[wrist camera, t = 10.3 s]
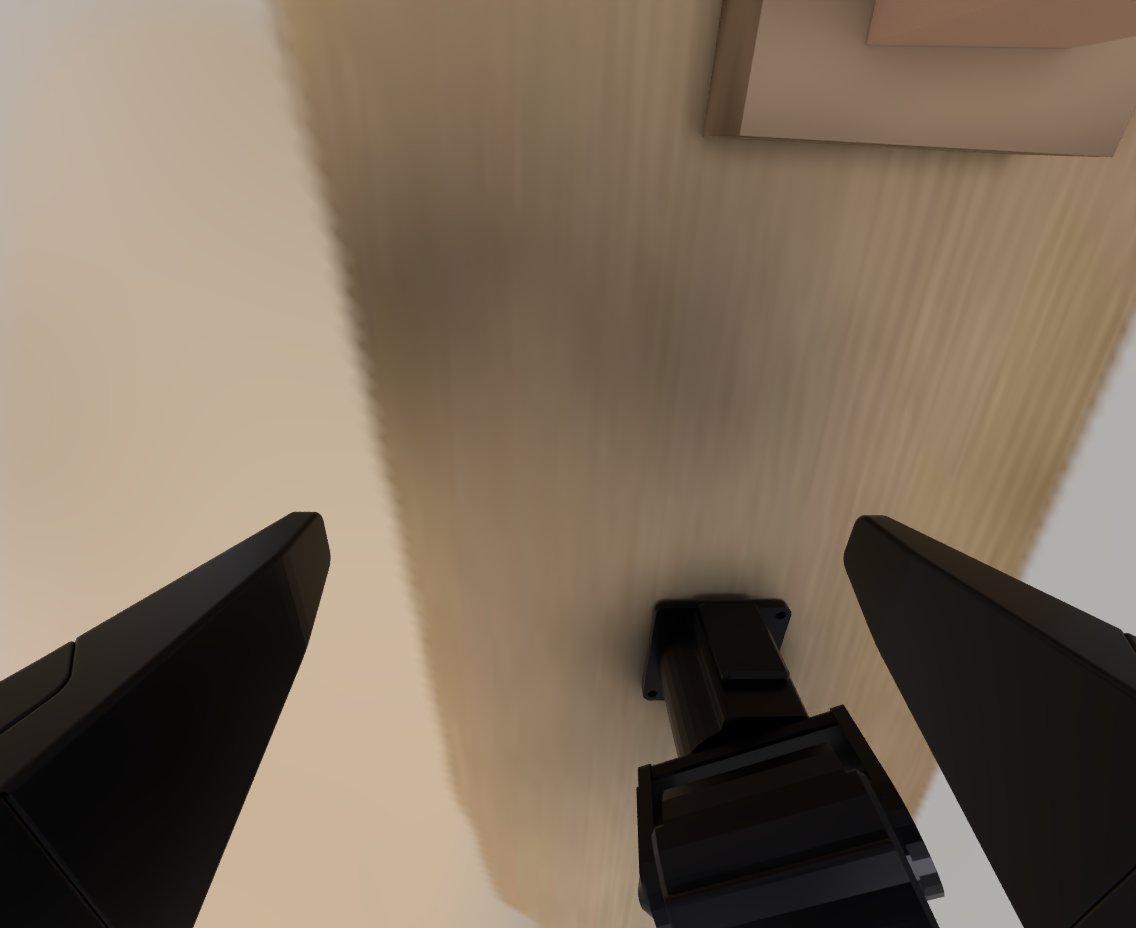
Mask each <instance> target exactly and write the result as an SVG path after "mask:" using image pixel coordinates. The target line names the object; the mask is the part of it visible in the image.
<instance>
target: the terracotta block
mask: <svg viewBox="0 0 1136 928" xmlns="http://www.w3.org/2000/svg"><path fill="white" fill-rule="evenodd" d="M1134 36H1136V0H876V1H875V6H874V11H873V15H872V20H871V24H870V29H869V34H868V38H867V43H866V45H907V46H966V47H1024V48H1075V47H1080V46H1085V45H1091V44H1096V43H1102V42H1107V41H1112V40H1118V39H1123V38H1129V37H1134Z"/></svg>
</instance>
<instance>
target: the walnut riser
mask: <svg viewBox="0 0 1136 928" xmlns="http://www.w3.org/2000/svg"><path fill="white" fill-rule="evenodd" d="M875 1H876V0H723V3H722V10H721V17H720V23H719V30H718V37H717V44H716V51H715V58H714V65H713V72H712V79H711V85H710V92H709V99H708V106H707V113H706V120H705V127H704V134H703V136H704V137H721V138H739V139H756V140H773V141H791V142H808V143H825V144H843V145H860V146H877V147H895V148H912V149H929V150H947V151H964V152H981V153H998V154H1019V155H1055V156H1090V157H1113V155H1114V153H1115V151H1116V149H1117V147H1118V145H1119V143H1120V140H1121V138H1122V136H1123V134H1124V132H1125V130H1126V127H1127V125H1128V123H1129V121H1130V119H1131V117H1132V115H1133V112H1134V110H1135V108H1136V36H1134V37H1129V38H1123V39H1118V40H1112V41H1107V42H1102V43H1096V44H1091V45H1085V46H1080V47H1075V48H1024V47H966V46H907V45H866V43H867V38H868V34H869V29H870V24H871V20H872V15H873V11H874V6H875Z"/></svg>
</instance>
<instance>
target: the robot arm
mask: <svg viewBox="0 0 1136 928" xmlns="http://www.w3.org/2000/svg"><path fill="white" fill-rule="evenodd" d="M329 566H330V549H329V544H328V540H327V535H326V531H325V526H324V521H323V518H322V516H321V515H320V514H319V513H317V512H292V513H290V514H288V515H287V516H285V517H283V518H282V519H280V520H278V521H276V522H275V523H273V524H271V525H270V526H268V527H266V528H264V529H263V530H261V531H259V532H258V533H256V534H254V535H253V536H251V537H249V538H247V539H246V540H244V541H242V542H240V543H239V544H237V545H235V546H233V547H232V548H230V549H228V550H227V551H225V552H223V553H222V554H220V555H218V556H216V557H215V558H213V559H211V560H209V561H208V562H206V563H204V564H203V565H201V566H199V567H197V568H196V569H194V570H193V571H191V572H189V573H187V574H185V575H184V576H182V577H180V578H179V579H177V580H175V581H173V582H172V583H170V584H168V585H167V586H165V587H163V588H161V589H160V590H158V591H156V592H155V593H153V594H151V595H149V596H148V597H146V598H144V599H143V600H141V601H139V602H137V603H136V604H134V605H132V606H130V607H129V608H127V609H125V610H124V611H122V612H120V613H118V614H117V615H115V616H114V617H111V618H110V619H108V620H106V621H105V622H103V623H101V624H99V625H98V626H96V627H94V628H93V629H91V630H89V631H87V632H86V633H84V634H82V635H81V636H79V637H77V639H76V641H75V642H72V641H71V642H68V643H67V644H65V645H63V646H62V647H60V648H58V649H57V650H55V651H53V652H51V653H50V654H48V655H46V656H44V657H43V658H41V659H40V660H38V661H36V662H34V663H32V664H30V665H29V666H27V667H25V668H23V669H22V670H20V671H18V672H16V673H15V674H13V675H11V676H9V677H7V678H6V679H4V680H2V681H0V928H193V927H194V924H195V922H196V919H197V917H198V914H199V912H200V910H201V907H202V905H203V902H204V899H205V897H206V895H207V892H208V890H209V888H210V885H211V883H212V880H213V878H214V875H215V873H216V870H217V868H218V865H219V863H220V860H221V858H222V855H223V853H224V851H225V848H226V846H227V843H228V841H229V839H230V836H231V834H232V831H233V829H234V826H235V824H236V821H237V819H238V816H239V814H240V812H241V809H242V807H243V804H244V802H245V799H246V797H247V794H248V792H249V789H250V787H251V785H252V782H253V780H254V777H255V775H256V772H257V770H258V768H259V765H260V763H261V760H262V758H263V755H264V753H265V750H266V748H267V746H268V743H269V741H270V738H271V736H272V733H273V731H274V728H275V726H276V724H277V721H278V719H279V716H280V714H281V711H282V709H283V706H284V704H285V701H286V699H287V697H288V694H289V692H290V689H291V687H292V684H293V682H294V679H295V677H296V674H297V672H298V670H299V667H300V665H301V662H302V660H303V657H304V654H305V652H306V649H307V646H308V642H309V639H310V636H311V632H312V629H313V625H314V621H315V618H316V614H317V610H318V607H319V603H320V600H321V596H322V592H323V589H324V585H325V581H326V578H327V574H328V571H329ZM844 566H845V569H846V572H847V574H848V577H849V579H850V582H851V584H852V587H853V589H854V592H855V594H856V597H857V599H858V602H859V605H860V607H861V610H862V612H863V615H864V617H865V620H866V622H867V625H868V627H869V630H870V632H871V634H872V637H873V639H874V641H875V644H876V646H877V648H878V650H879V652H880V654H881V656H882V658H883V660H884V662H885V664H886V666H887V667H888V669H889V671H890V673H891V675H892V677H893V679H894V681H895V683H896V685H897V687H898V688H899V690H900V692H901V694H902V696H903V698H904V700H905V702H906V704H907V706H908V708H909V709H910V711H911V713H912V715H913V717H914V719H915V721H916V723H917V725H918V727H919V729H920V730H921V732H922V734H923V736H924V738H925V740H926V742H927V744H928V746H929V748H930V750H931V751H932V753H933V755H934V757H935V759H936V761H937V763H938V765H939V767H940V769H941V771H942V772H943V774H944V776H945V778H946V780H947V782H948V784H949V786H950V788H951V789H952V792H953V793H954V795H955V797H956V799H957V801H958V803H959V805H960V807H961V809H962V811H963V812H964V814H965V816H966V818H967V820H968V822H969V824H970V826H971V827H972V829H973V832H974V833H975V835H976V837H977V839H978V841H979V843H980V845H981V847H982V849H983V851H984V853H985V854H986V856H987V858H988V860H989V862H990V864H991V866H992V868H993V870H994V871H995V874H996V875H997V877H998V879H999V881H1000V883H1001V885H1002V887H1003V889H1004V891H1005V893H1006V894H1007V896H1008V898H1009V900H1010V902H1011V904H1012V906H1013V908H1014V910H1015V912H1016V914H1017V915H1018V917H1019V919H1020V921H1021V923H1022V925H1023V927H1024V928H1136V636H1133V635H1131V634H1129V633H1123V632H1122V630H1121V629H1119V628H1117V627H1115V626H1113V625H1110V624H1108V623H1106V622H1104V621H1102V620H1100V619H1098V618H1096V617H1094V616H1092V615H1090V614H1088V613H1086V612H1084V611H1082V610H1079V609H1077V608H1075V607H1073V606H1071V605H1069V604H1067V603H1065V602H1063V601H1061V600H1059V599H1057V598H1055V597H1053V596H1051V595H1048V594H1046V593H1044V592H1042V591H1040V590H1038V589H1036V588H1034V587H1032V586H1030V585H1028V584H1026V583H1024V582H1022V581H1020V580H1018V579H1015V578H1013V577H1011V576H1009V575H1007V574H1005V573H1003V572H1001V571H999V570H997V569H995V568H993V567H991V566H989V565H987V564H984V563H982V562H980V561H978V560H976V559H974V558H972V557H970V556H968V555H966V554H964V553H962V552H960V551H958V550H956V549H954V548H951V547H949V546H947V545H945V544H943V543H941V542H939V541H937V540H935V539H933V538H931V537H929V536H927V535H925V534H923V533H920V532H918V531H916V530H914V529H912V528H910V527H908V526H906V525H904V524H902V523H900V522H898V521H896V520H894V519H892V518H889V517H887V516H883V515H863V516H861V517H859V518H858V519H857V520H856V522H855V524H854V527H853V529H852V532H851V535H850V538H849V540H848V543H847V546H846V549H845V552H844ZM664 612H668V613H665V614H663V613H664ZM778 612H780V613H778ZM790 617H791V611H790V609H789V607H788V605H787V604H786V603H785V602H780V601H776V602H662V603H660V604H658V605H657V606H656V607H655V609H654V613H653V620H652V626H651V632H650V638H649V645H648V651H647V657H646V663H645V670H644V676H643V682H642V693H643V697H644V698H645V699H647V700H665V703H666V707H667V712H668V716H669V720H670V725H671V729H672V733H673V738H674V742H675V746H676V751H677V755H678V758H676V759H672V760H669V761H666V762H663V763H659V764H656V765H653V766H652V765H651V764H648V765H645V766H641V767H638V785H639V787H637V789H636V790H637V819H638V848H639V874H640V878H639V885H638V897H639V901H640V905H641V907H642V909H643V910H644V911H645V912H647V913H648V914H649V915H650V916H651V917H652V918H653V919H654V922H655V924H656V928H939V926H938V924H937V922H936V919H935V917H934V915H933V913H932V911H931V909H930V907H929V904H928V903H927V900H932V899H936V898H939V897H944V890H943V886H942V884H941V881H940V878H939V876H938V873H937V870H936V868H935V866H934V864H933V861H932V859H931V857H930V854H929V852H928V850H927V848H926V846H925V844H924V841H923V840H922V838H921V836H920V833H919V831H918V829H917V827H916V825H915V823H914V821H913V819H912V817H911V816H910V814H909V812H908V810H907V808H906V806H905V804H904V802H903V801H902V799H901V797H900V795H899V793H898V792H897V790H896V788H895V787H894V785H893V783H892V782H891V780H890V778H889V777H888V775H887V774H886V772H885V770H884V769H883V767H882V766H881V764H880V762H879V761H878V759H877V758H876V756H875V754H874V753H873V751H872V750H871V748H870V746H869V745H868V743H867V742H866V740H865V738H864V737H863V735H862V733H861V732H860V730H859V729H858V727H857V725H856V724H855V722H854V721H853V719H852V717H851V716H850V714H849V713H848V711H847V709H846V708H845V706H844V705H839V706H836V707H833V708H830V711H828V712H825V713H822V714H819V715H815V716H812V717H809V716H808V714H807V712H806V710H805V707H804V705H803V703H802V701H801V699H800V697H799V695H798V693H797V691H796V688H795V686H794V684H793V682H792V680H791V678H790V674H789V671H788V669H787V667H786V665H785V662H784V660H783V658H782V656H781V654H780V652H779V651H780V648H781V645H782V642H783V639H784V635H785V632H786V629H787V626H788V623H789V620H790Z"/></svg>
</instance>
